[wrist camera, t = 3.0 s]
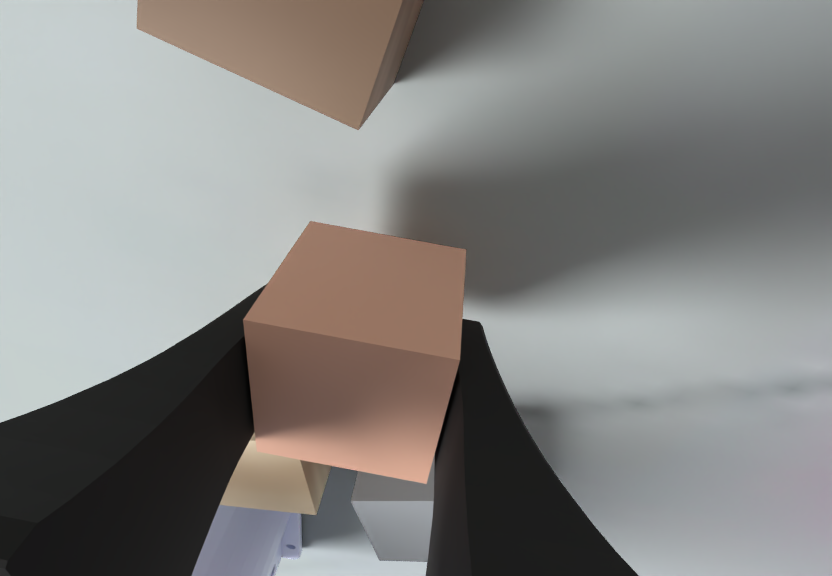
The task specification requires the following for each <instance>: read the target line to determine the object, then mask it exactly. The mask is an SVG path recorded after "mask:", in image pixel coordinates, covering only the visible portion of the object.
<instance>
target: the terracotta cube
mask: <svg viewBox="0 0 832 576" xmlns="http://www.w3.org/2000/svg"><path fill="white" fill-rule="evenodd" d="M465 265H466V249H461V248H455V247H450V246H444V245H439V244H433V243H428V242H422V241H417V240H411V239H406V238H400V237H395V236H389V235H384V234H378V233H373V232H367V231H362V230H356V229H351V228H345V227H340V226H334V225H329V224H323V223H318V222H312V221H310V222H309V224H308V225H307V227H306V228H305V230H304V231H303V233H302V234H301V236H300V237H299V238H298V240H297V241H296V243H295V244H294V246H293V247H292V249H291V250H290V252H289V253H288V255H287V256H286V258H285V259H284V260H283V262H282V263H281V265H280V266H279V268H278V269H277V271H276V272H275V274H274V275H273V277H272V278H271V280H270V281H269V282H268V284H267V285H266V287H265V288H264V290H263V291H262V293H261V294H260V296H259V297H258V299H257V300H256V301H255V303H254V304H253V306H252V307H251V309H250V310H249V312H248V313H247V315H246V316H245V318H244V319H243V324H244V334H245V343H246V353H247V362H248V372H249V382H250V391H251V401H252V410H253V420H254V430H255V439H256V449H257V452H262V453H267V454H272V455H278V456H283V457H288V458H293V459H298V460H304V461H309V462H314V463H319V464H325V465H330V466H335V467H340V468H346V469H351V470H356V471H361V472H366V473H372V474H377V475H382V476H387V477H393V478H398V479H403V480H408V481H414V482H419V483H424V484H427V480H428V476H429V473H430V469H431V465H432V462H433V458H434V454H435V451H436V447H437V443H438V439H439V436H440V432H441V428H442V425H443V421H444V417H445V414H446V410H447V406H448V402H449V399H450V395H451V391H452V388H453V384H454V380H455V377H456V373H457V369H458V366H459V362H460V351H461V334H462V316H463V299H464V282H465Z"/></svg>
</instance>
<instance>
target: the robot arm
mask: <svg viewBox="0 0 832 576" xmlns="http://www.w3.org/2000/svg"><path fill="white" fill-rule="evenodd" d="M266 285H267V284H266ZM266 285H265V286H263V287H262V288H260V289H259V290H257V291H256V292H254V293H253V294H251V295H250V296H248V297H247V298H246V299H244V300H243V301H241V302H240V303H238V304H237V305H236V306H234V307H233V308H231V309H230V310H228V311H227V312H225V313H224V314H223V315H221V316H220V317H218V318H217V319H215V320H214V321H212V322H211V323H209V324H208V325H206V326H205V327H203V328H202V329H200V330H198V331H197V332H195V333H194V334H192V335H190V336H189V337H187V338H185V339H184V340H182V341H180V342H179V343H177V344H175V345H174V346H172V347H170V348H169V349H167V350H165V351H164V352H162V353H160V354H158V355H157V356H155V357H153V358H151V359H149V360H147V361H145V362H144V363H142V364H140V365H138V366H136V367H134V368H132V369H130V370H128V371H126V372H124V373H122V374H120V375H118V376H116V377H113V378H111V379H109V380H107V381H105V382H102V383H100V384H98V385H95V386H93V387H91V388H88V389H86V390H84V391H81V392H79V393H77V394H75V395H72V396H70V397H68V398H65V399H63V400H61V401H58V402H56V403H53V404H51V405H48V406H45V407H43V408H40V409H37V410H35V411H32V412H29V413H27V414H24V415H21V416H18V417H16V418H13V419H10V420H7V421H4V422H1V423H0V576H275V574H276V571H277V568H278V565H279V563H280V560H281V557H284V558H289V559H298V558H300V555H301V552H302V524H301V514H300V513H290V512H281V511H272V510H262V509H253V508H244V507H234V506H225V505H220V502H221V500H222V498H223V495H224V493H225V490H226V488H227V486H228V483H229V481H230V478H231V476H232V474H233V472H234V470H235V468H236V466H237V464H238V462H239V460H240V458H241V456H242V454H243V452H244V451H245V449H246V447H247V445H248V443H249V441H250V439H251V438H252V436H253V434H254V432H255V430H254V420H253V410H252V401H251V391H250V382H249V372H248V362H247V353H246V343H245V334H244V324H243V319H244V318H245V316H246V315H247V313H248V312H249V310H250V309H251V307H252V306H253V304H254V303H255V301H256V300H257V299H258V297H259V296H260V294H261V293H262V291H263V290H264V288H265V287H266ZM426 576H638V574H637V573H636V572H635V571H634V570H633V569H632V568H631V567H630V566H629V565H628V564H627V563H626V562H625V561H624V560H623V559H622V558H621V556H620V555H619V554H618V553H617V552H616V551H615V550H614V549H613V547H612V546H611V545H610V544H609V543H608V542H607V540H606V539H605V538H604V537H603V536H602V534H601V533H600V532H599V531H598V530H597V529H596V527H595V526H594V525H593V524H592V522H591V521H590V520H589V519H588V517H587V516H586V515H585V513H584V512H583V511H582V509H581V508H580V507H579V505H578V504H577V503H576V501H575V500H574V499H573V498H572V496H571V495H570V494H569V492H568V491H567V490H566V488H565V487H564V486H563V484H562V483H561V482H560V480H559V479H558V477H557V476H556V474H555V473H554V471H553V470H552V468H551V467H550V465H549V464H548V463H547V461H546V460H545V458H544V456H543V455H542V453H541V452H540V450H539V448H538V447H537V445H536V444H535V442H534V440H533V439H532V437H531V435H530V434H529V432H528V430H527V428H526V426H525V425H524V423H523V421H522V419H521V417H520V415H519V413H518V412H517V410H516V408H515V406H514V404H513V402H512V400H511V398H510V396H509V394H508V392H507V389H506V387H505V385H504V383H503V380H502V378H501V376H500V374H499V371H498V369H497V367H496V364H495V362H494V359H493V356H492V354H491V351H490V348H489V346H488V343H487V340H486V336H485V333H484V330H483V326H482V325H481V323H480V322H477V321H472V320H466V319H462V334H461V351H460V362H459V366H458V369H457V373H456V377H455V380H454V384H453V388H452V391H451V395H450V399H449V402H448V406H447V410H446V414H445V417H444V421H443V425H442V428H441V432H440V436H439V439H438V443H437V447H436V451H435V465H434V502H433V518H432V526H431V535H430V544H429V553H428V562H427V570H426Z"/></svg>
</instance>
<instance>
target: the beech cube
mask: <svg viewBox="0 0 832 576" xmlns="http://www.w3.org/2000/svg"><path fill="white" fill-rule="evenodd" d="M331 467H332V466H330V465H325V464H319V463H314V462H309V461H304V460H298V459H293V458H288V457H283V456H278V455H272V454H267V453H262V452H257V449H256V439H255V432H254V434H253V436H252V438H251V439H250V441H249V443H248V445H247V447H246V449H245V451H244V452H243V454H242V456H241V458H240V460H239V462H238V464H237V466H236V468H235V470H234V472H233V474H232V476H231V478H230V481H229V483H228V486H227V488H226V490H225V493H224V495H223V498H222V500H221V502H220V505H225V506H234V507H244V508H253V509H262V510H272V511H281V512H290V513H300V514H309V515H317V512H318V509H319V505H320V502H321V499H322V496H323V492H324V489H325V486H326V483H327V479H328V476H329V473H330V470H331Z"/></svg>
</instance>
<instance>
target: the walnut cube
mask: <svg viewBox="0 0 832 576" xmlns="http://www.w3.org/2000/svg"><path fill="white" fill-rule="evenodd" d="M423 2H424V0H138V7H137V29H139V30H141V31H143V32H146V33H148V34H150V35H152V36H154V37H156V38H159V39H161V40H163V41H165V42H167V43H170V44H172V45H174V46H176V47H178V48H180V49H183V50H185V51H187V52H189V53H191V54H193V55H196V56H198V57H200V58H202V59H204V60H207V61H209V62H211V63H213V64H215V65H217V66H220V67H222V68H224V69H226V70H228V71H230V72H233V73H235V74H237V75H239V76H241V77H244V78H246V79H248V80H250V81H252V82H254V83H257V84H259V85H261V86H263V87H265V88H267V89H270V90H272V91H274V92H276V93H278V94H281V95H283V96H285V97H287V98H289V99H291V100H294V101H296V102H298V103H300V104H302V105H304V106H307V107H309V108H311V109H313V110H315V111H318V112H320V113H322V114H324V115H326V116H328V117H331V118H333V119H335V120H337V121H339V122H341V123H344V124H346V125H348V126H350V127H352V128H355V129H357V130H359V129H360V127H361V126H362V125H363V124H364V122H365V121H366V120H367V118H368V117H369V116H370V114H371V113H372V112H373V110H374V109H375V108H376V106H377V105H378V104H379V103H380V101H381V100H382V99H383V97H384V96H385V95H386V93H387V92H388V91H389V89H390V88H391V87H392V85H393V84H394V81H395V79H396V76H397V73H398V70H399V68H400V65H401V62H402V59H403V57H404V54H405V51H406V49H407V46H408V43H409V40H410V38H411V35H412V32H413V29H414V27H415V24H416V21H417V18H418V16H419V13H420V10H421V8H422V5H423Z"/></svg>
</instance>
